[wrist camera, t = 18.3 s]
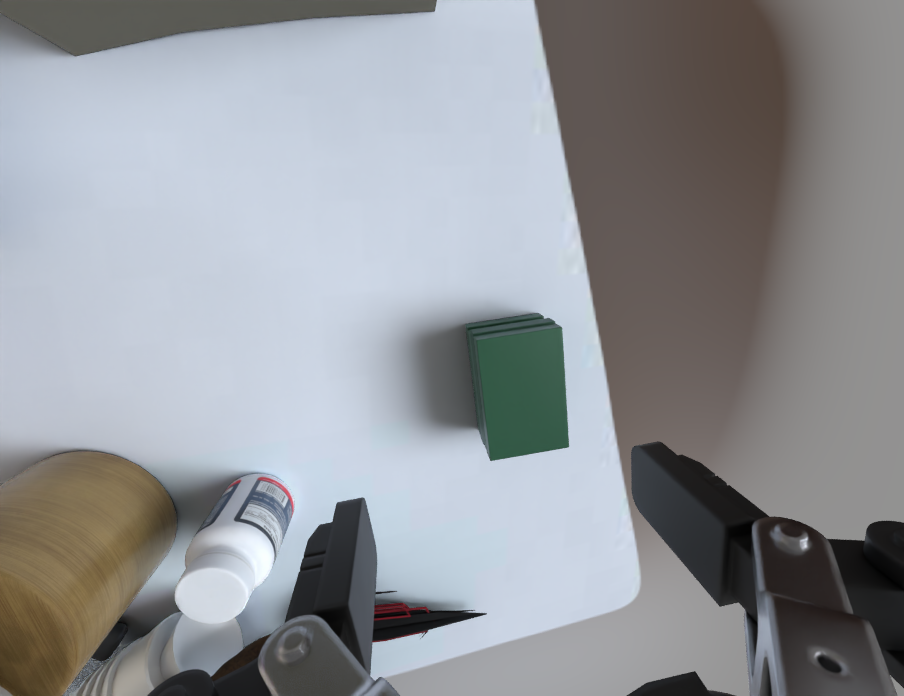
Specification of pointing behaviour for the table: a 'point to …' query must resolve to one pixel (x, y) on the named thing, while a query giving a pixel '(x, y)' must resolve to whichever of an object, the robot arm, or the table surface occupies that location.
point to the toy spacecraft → (411, 620)
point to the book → (173, 17)
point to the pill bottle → (234, 548)
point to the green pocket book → (522, 390)
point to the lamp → (73, 562)
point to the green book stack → (494, 327)
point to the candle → (165, 656)
